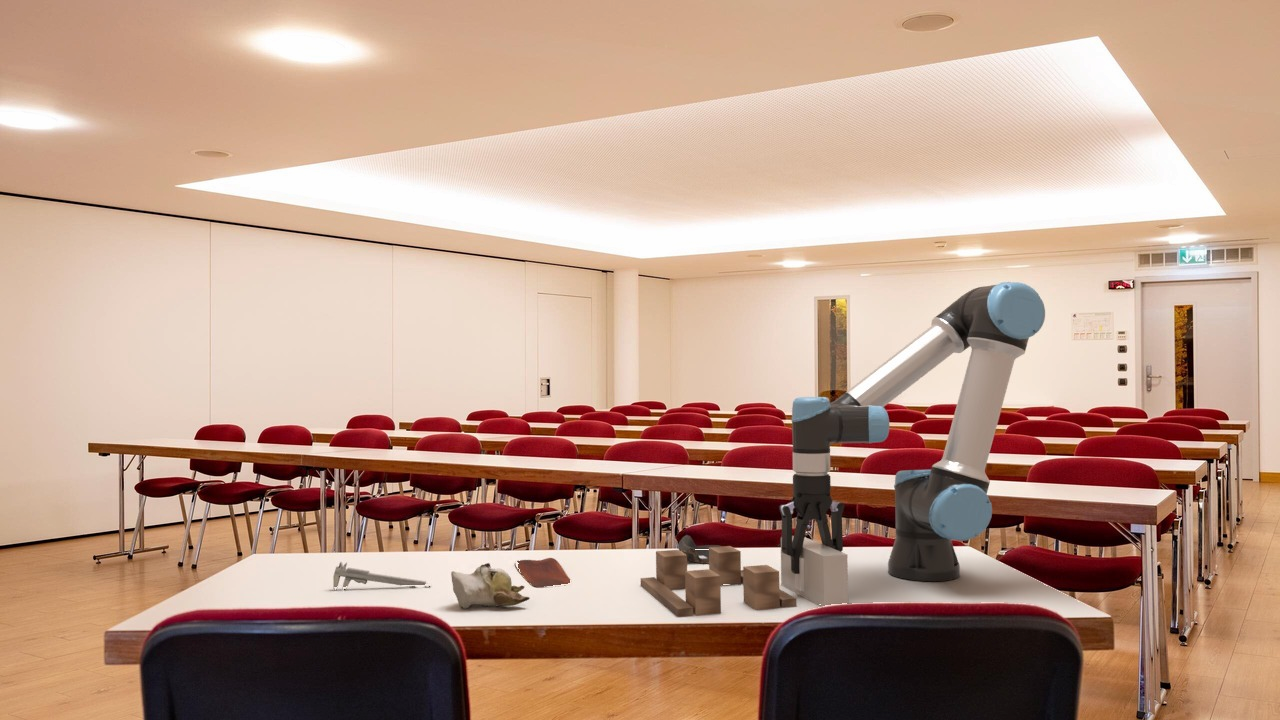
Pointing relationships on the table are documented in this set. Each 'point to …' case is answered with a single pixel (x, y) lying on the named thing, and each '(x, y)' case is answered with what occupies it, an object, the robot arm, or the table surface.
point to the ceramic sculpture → (486, 588)
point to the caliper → (368, 577)
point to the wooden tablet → (543, 572)
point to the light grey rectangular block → (819, 574)
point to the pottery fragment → (695, 555)
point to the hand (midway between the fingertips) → (812, 588)
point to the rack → (713, 583)
